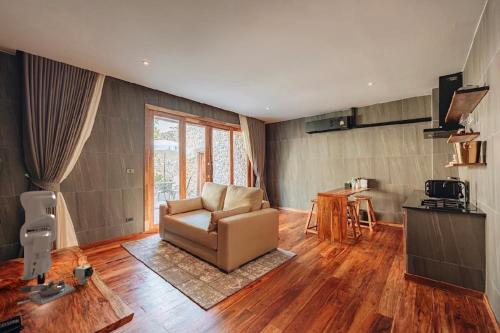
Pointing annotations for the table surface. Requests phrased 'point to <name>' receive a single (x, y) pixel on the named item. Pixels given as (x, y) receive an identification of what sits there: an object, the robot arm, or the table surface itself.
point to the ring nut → (46, 288)
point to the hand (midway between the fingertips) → (41, 283)
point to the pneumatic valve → (83, 273)
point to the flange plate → (45, 299)
